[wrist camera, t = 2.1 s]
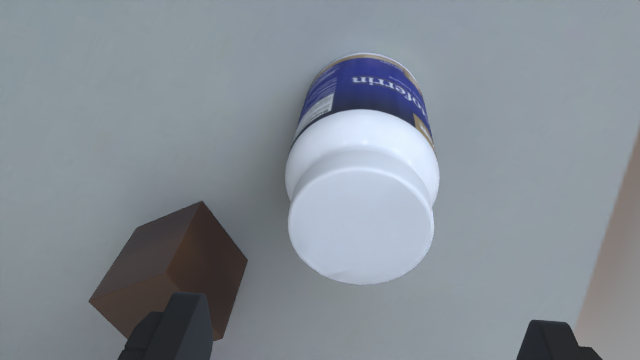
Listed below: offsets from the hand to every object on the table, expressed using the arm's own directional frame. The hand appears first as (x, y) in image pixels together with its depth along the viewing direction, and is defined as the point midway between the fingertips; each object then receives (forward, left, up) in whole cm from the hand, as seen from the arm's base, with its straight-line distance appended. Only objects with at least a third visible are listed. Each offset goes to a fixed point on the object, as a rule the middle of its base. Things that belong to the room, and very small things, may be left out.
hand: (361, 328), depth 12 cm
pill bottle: (0, 0, -14) cm, 14 cm away
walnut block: (+7, -12, -14) cm, 19 cm away
